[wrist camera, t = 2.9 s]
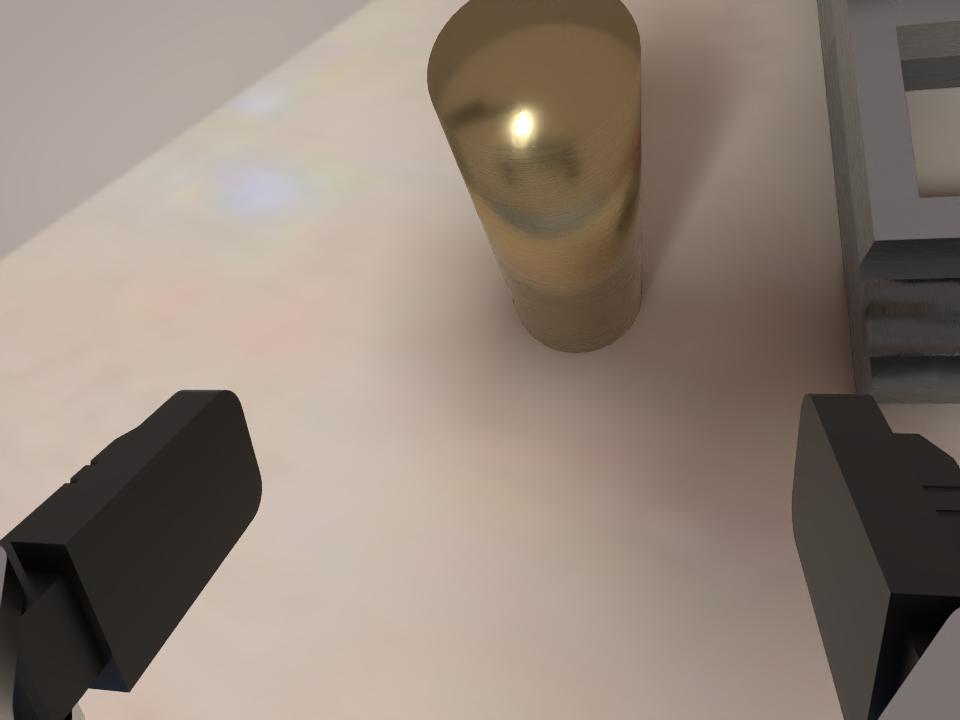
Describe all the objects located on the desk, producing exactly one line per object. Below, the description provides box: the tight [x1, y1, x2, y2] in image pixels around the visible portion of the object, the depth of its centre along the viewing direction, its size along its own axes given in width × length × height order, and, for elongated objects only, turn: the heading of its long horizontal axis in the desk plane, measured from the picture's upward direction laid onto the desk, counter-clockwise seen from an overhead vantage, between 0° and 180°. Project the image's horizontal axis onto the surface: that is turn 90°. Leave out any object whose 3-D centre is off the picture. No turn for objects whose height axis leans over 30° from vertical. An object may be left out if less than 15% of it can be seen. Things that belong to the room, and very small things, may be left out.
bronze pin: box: [427, 0, 641, 353], centre depth 19 cm, size 4×4×11 cm
